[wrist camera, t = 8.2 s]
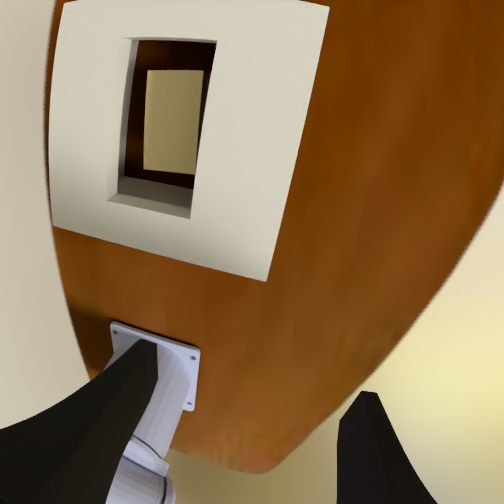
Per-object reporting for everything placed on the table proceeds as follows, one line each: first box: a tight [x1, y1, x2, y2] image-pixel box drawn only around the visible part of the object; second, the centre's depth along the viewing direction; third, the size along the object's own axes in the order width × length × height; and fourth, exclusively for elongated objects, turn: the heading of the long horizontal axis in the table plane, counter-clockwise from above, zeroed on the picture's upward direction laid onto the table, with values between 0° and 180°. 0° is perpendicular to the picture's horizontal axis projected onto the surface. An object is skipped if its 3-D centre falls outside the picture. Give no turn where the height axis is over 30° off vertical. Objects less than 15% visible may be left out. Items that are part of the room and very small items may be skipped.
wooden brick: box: [144, 70, 211, 175], centre depth 14 cm, size 4×2×4 cm, turn 174°
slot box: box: [49, 0, 329, 282], centre depth 14 cm, size 11×11×6 cm
